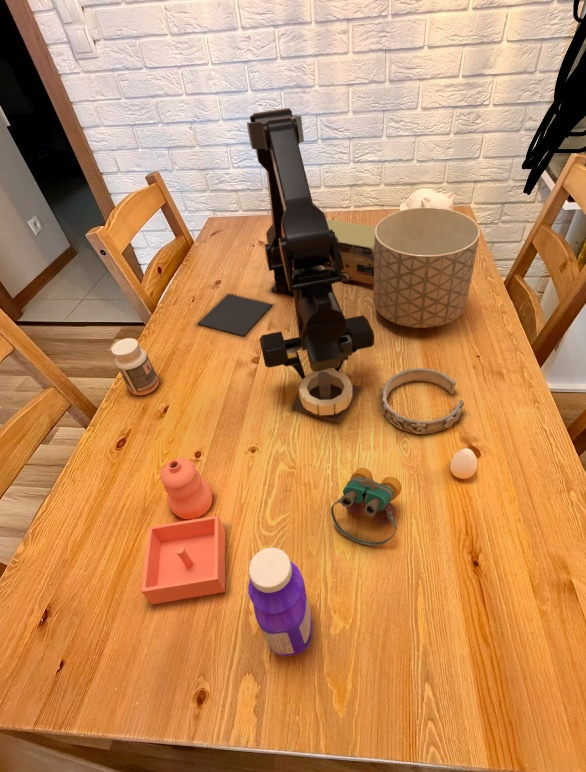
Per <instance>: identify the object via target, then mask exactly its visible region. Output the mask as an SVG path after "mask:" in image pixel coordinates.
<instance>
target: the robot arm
mask: <svg viewBox="0 0 586 772" xmlns="http://www.w3.org/2000/svg"><path fill="white" fill-rule="evenodd" d="M246 128H247V134H248V141H249V144H250V148H251V149H252V150H255V154H256V159H257V162H258V163H259V164H260V166H262V167H263V169H264V170H265V173H266V182H267V190H268V198H269V207H270V216H271V224H270V227H269V228H268V230H267V231H266V233H265V236H266V243H264V254H265V260H266V263H267V267H268V271H269V272H271V271H273V279H274V285H273V286H272V287H271V289H270V291H271V292H272V293H277V294H282V295H286V296H289V297H290V296H292V297H293V301H294V309H295V317H296V324H297V331H298V332H297V333H298V337H291V338H288V339H285V338H284V335H283V332H282V330H280V331H277V332H276V331H275V332H272V333H266V334H261V336H260V337H259V344H260V349H261V352H262V358H263V362H264V366H265V367H266V368H274V367H279V366H284V367H292V368H293V369H294V370H295V371H296V372H297V374H298V376H299V377H300V379H301V380H302V379H303V378H305V376H306V373H305V370H304V367H303V363H302V361H301V357H300V355H299V352H300V351H306V355H307V358H308V362H309V367H310V369H311V371H312V372H314V371H315V372H319V371H322V370H326V369H332V370H336V371H338V372H341V368H342V366H343V363H344V361H347V360H349V357H350V356H352V355H353V354H355V353H357V352H358V350H362V349H368V348H371V347H373V346H374V345H375V332H374V330H373V328H372V326H371V324H370V322H369V320H368V318H367V317H366V316H365V315H358V316H353V317H348V318H346V317H345V315H344V312H343V311H342V307H341V306H340V304H339V301H338V299H337V296H336V294H335V292H334V290H333V284H337V283H342V282H343V281H342V275H341V270H343V268H344V266H343V261H342V256H341V251H340V247H339V242H338V238H337V237H336V236H335V232H333V230H332V229H329V227H328V224H327V220H326V219H327V216H326V214H325V212H324V211H323V210H322V209H320V208H319V207H318V206H317V205H316V204H315V203H314V201H313V198H312V193H311V189H310V187H309V186H310V185H309V181H308V178H307V173H306V169H305V165H304V161H303V158H302V153H301V149H300V148H301V147H300V144H301V143H303V142H305V137H304V136H305V135H304V129H303V120H302V115H301V114H294V115H293V110H291V108H290V107H285V108H277V109H272V110H271V109H270V110H264V111H258V112H257V111H256V112H253V113H252V114H251V115H250V117H249V121H246ZM330 256H331V259H332V264H333V268H334V271H333V269H332V268H330V269H324V267H323V266H321V265H326V264H329V262H330Z"/></svg>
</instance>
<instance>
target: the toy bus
mask: <svg viewBox="0 0 586 772" xmlns="http://www.w3.org/2000/svg"><path fill="white" fill-rule="evenodd" d="M326 220H327V224H328V227H329V229H332V230H333V232H335V236H336V237H337V238H338V242H339V247H340V251H341V256H342V261H343V266H344V268H343V270H341V275H342V282H343V283H345V284H347V283H348V284H349V283H350V282H351V281H355V282H360V283H363V284H367V285H371V286H374V239H375V228H376V226H374V225H368V224H361V223H355V222H350V221H349V222H348V221H344V220H337V219H331V218H326ZM321 266H323V267H324V269H330V268H332V269H333V271H334V268H333V264H332V259H331V256H330V262H329V264H326V265H321Z"/></svg>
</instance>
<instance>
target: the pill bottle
mask: <svg viewBox="0 0 586 772" xmlns="http://www.w3.org/2000/svg"><path fill="white" fill-rule="evenodd" d="M111 353H112V354H113V357H114V358H115V366H116V368H117V370H118V372H119V373H120V375H121V377H122V379H123V381H124V383H125V384H126V386H127V388H128V390H129V391H130V393H132V394H133V395H135V396H146V395H148V394H151V393H152V392H154V391H155V390H156V389H157V388H158V386H159V382H160V380H159V377H158V375H157V373H156V371H155V369H154V367H153V363H152V362H151V360H150V358H149V356H148V354H147V352H146V351H145V350H144V348H141V346H140V343H139V341H138V340H137V339H135V338H132V337H127V338H123V339H120V340H117V341H116V342H115V343H114V344H113V345H112V347H111Z"/></svg>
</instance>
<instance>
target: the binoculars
mask: <svg viewBox="0 0 586 772" xmlns="http://www.w3.org/2000/svg"><path fill="white" fill-rule="evenodd" d="M401 492H402V483H401V482H400V480H399V479H398V478H397V477H395V476H386V477H385V478H383V480H382V481H381V482H380V483H379V482H376V481H375V480H374V477H373V474H372V472H371V470H369V469H368V468H366V467H359V468H357V469H356V470H355V471H354V472H353V473H352V475H351V476H350V479H349V481H347V483H346V485H345V486H344V488H343V489H342V496H341V497H340V498H338V500H336V501H334V503H333V504H332V505H331V507H330V516H331V519H332V521H333V524H334V526H335V527H336V529H337V530H338V531H339V532H340V534H342V535H343V536H345V537H346V538H348V539H349V540H352V541H353V542H355V543H358V544H361V545H365V546H375V547H376V546H381V545H384V544H386V543H388V542H389V541H390V540H391V539H392V538H394V536H395V534H396V533H397V530H398V525H397V522H396V521H395V519H394V518H395V517H396V515H397V509H396V507H395V505H394V504H393V503H392V501H394V500H396V499H397V497H398V496H399V495H400V494H401ZM337 504H340V505H341V506H343V507H344V508H346V511H347V512H348V513H350V514H351V515H355V516H357V515H359V516H360V515H361V514H362V513H363V512H365V513H366V514H367V515H368V516H370V517H373V520H374V521H375V522H376V523H377V524H380V525H384V526H385V525H388V524H392V525H393V528H394V531H393V533H392V534H391V535H390V536H389V537H388V538H386V539H384V540H382V541H366V540H362V539H359V538H357V537H355V536H353V535H351V534H349V532H347V531H346V530H344V529H343V528H342V527H341V526H340V524H339V523H338V521H337V518H336V515H335V512H334V507H335V505H337Z"/></svg>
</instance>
